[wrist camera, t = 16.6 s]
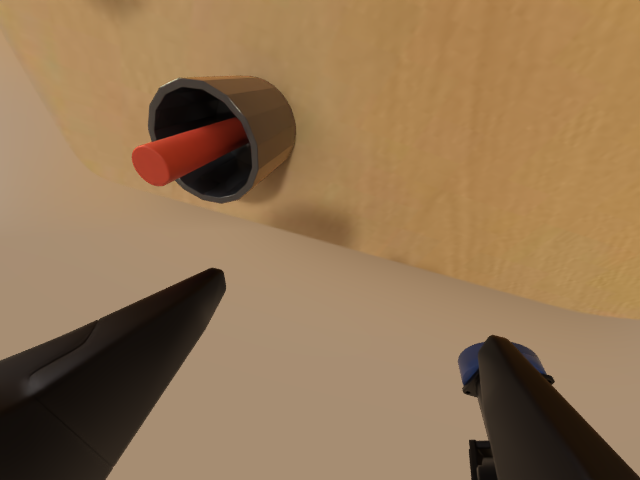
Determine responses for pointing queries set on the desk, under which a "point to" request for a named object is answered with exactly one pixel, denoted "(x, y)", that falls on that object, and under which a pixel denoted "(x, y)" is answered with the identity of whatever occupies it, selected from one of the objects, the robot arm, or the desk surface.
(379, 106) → the desk surface
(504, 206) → the desk surface
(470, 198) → the desk surface
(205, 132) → the straw
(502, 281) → the desk surface
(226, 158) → the tin
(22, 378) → the robot arm
